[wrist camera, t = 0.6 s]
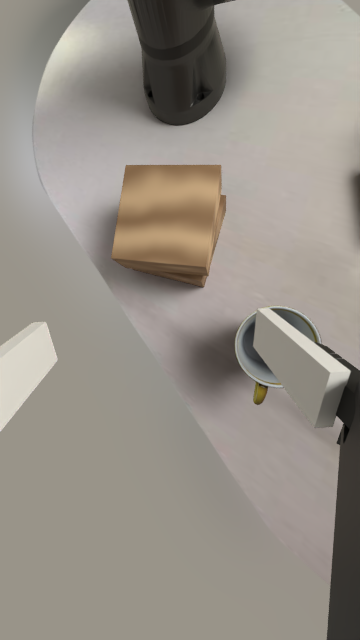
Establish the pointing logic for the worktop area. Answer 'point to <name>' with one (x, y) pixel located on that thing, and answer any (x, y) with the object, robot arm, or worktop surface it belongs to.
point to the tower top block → (168, 218)
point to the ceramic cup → (254, 362)
